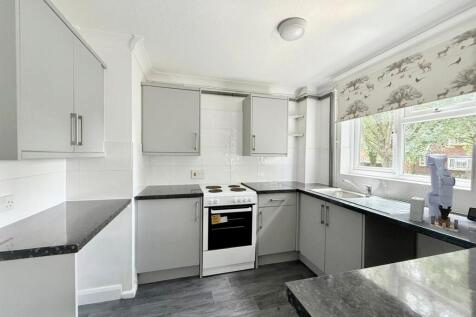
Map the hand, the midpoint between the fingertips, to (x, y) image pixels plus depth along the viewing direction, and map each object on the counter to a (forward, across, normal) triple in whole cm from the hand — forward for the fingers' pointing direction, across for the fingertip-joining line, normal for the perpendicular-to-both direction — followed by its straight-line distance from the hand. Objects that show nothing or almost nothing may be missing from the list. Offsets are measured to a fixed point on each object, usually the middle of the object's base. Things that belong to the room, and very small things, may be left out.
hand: (444, 218), depth 123 cm
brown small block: (+4, 0, 0) cm, 4 cm away
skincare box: (+5, +2, -12) cm, 13 cm away
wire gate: (+4, +5, 0) cm, 6 cm away
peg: (+4, +10, 0) cm, 11 cm away
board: (+4, +4, 0) cm, 6 cm away
